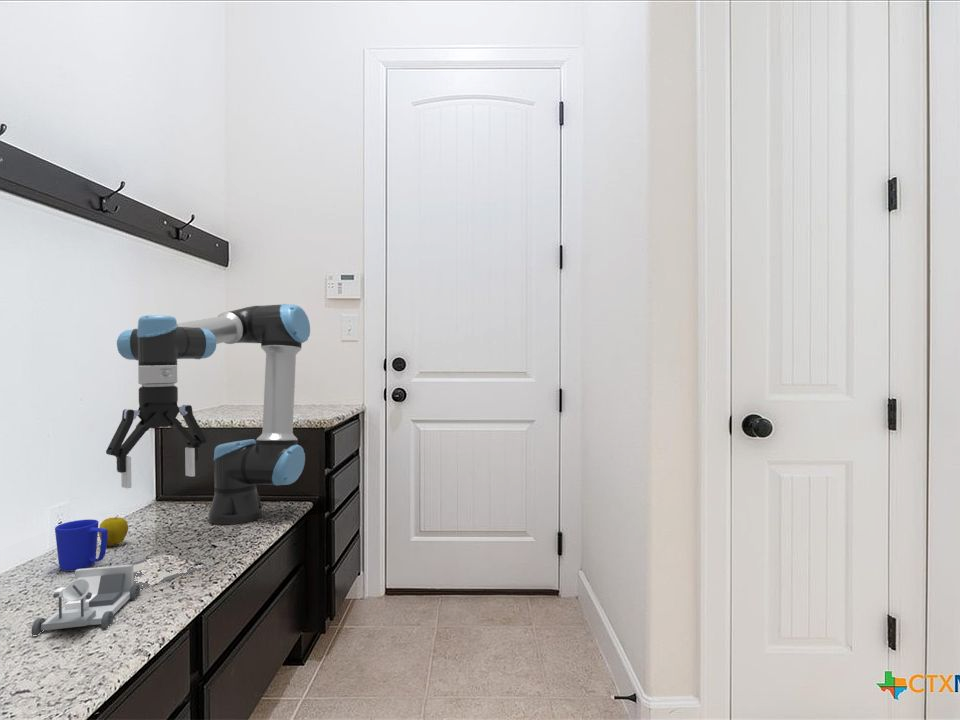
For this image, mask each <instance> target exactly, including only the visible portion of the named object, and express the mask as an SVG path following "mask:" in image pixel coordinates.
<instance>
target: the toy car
mask: <svg viewBox="0 0 960 720" xmlns="http://www.w3.org/2000/svg"><path fill="white" fill-rule="evenodd" d="M140 593H141V590H140V586H139V585H138V584H136V585H134V572H133V564H132V565H127V564H124V565H123V564H122V565H112V566H108V565H107V566H99V567H97V566H96V567H87V568H85V569H77V570H76V571H74V579H73V580H72V581H70V582H69V583H68V584H67V585H66V586H65V587H64V586H62V587H59V588H56V590H54V591H53V594H52V595H53V596H52V597H53V598H54V599H58V610H57V611H56V612H55V613H53V614H52V615H50V616H49V617H48V618H47V619H46V618H45V617H38V618H35V620H34V622H33V624H32V626H31V635H32V636H33V635H38V634H39V633H40V632H42V631H43V630H45V631H49V630H58V629H59V630H60V629H61V630H62V629H69V628H79V627H86V626H94V625H95V626H96V625H101V629H102V630H107V629H106V628H108V626H110V624H112V625H113V624H114V615H115V614H116V613H117V612H118V611H119V610H120V609H121V608H122V607H123V606H124V605H125V604H126V603H127V602H128V601H129V600H130V601H135V599H136V598H137V597H138V596H139V597H140ZM62 597H63V599H65V600H66V603H64V605H63V604H62V602H63V601H62ZM139 597H138V598H139ZM138 598H137V599H138ZM137 599H136V600H137ZM62 605H63V606H62ZM110 627H111V626H110ZM108 629H109V628H108ZM42 633H43V632H42Z"/></svg>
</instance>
